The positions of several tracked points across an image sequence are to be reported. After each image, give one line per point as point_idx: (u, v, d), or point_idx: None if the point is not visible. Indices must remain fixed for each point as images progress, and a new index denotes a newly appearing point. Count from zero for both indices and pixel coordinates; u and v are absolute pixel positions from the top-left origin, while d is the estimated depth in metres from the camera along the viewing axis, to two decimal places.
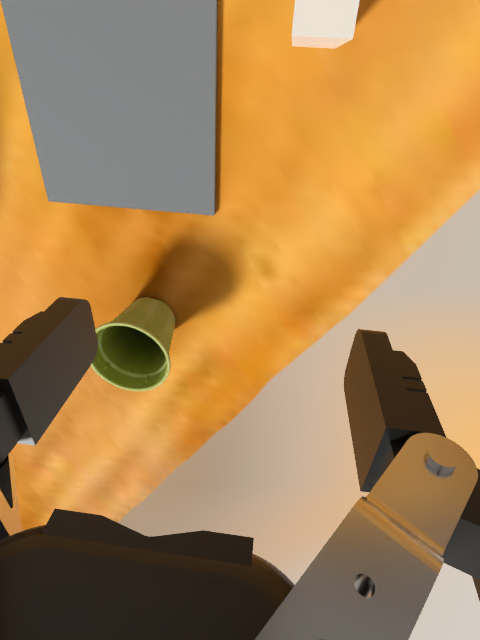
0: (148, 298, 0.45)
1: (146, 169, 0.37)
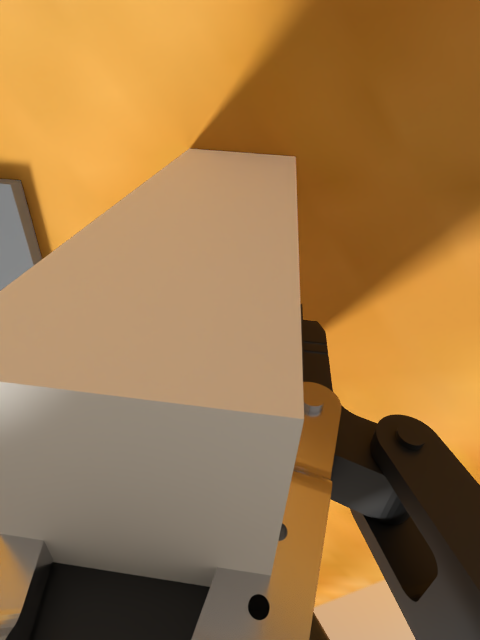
0: None
1: None
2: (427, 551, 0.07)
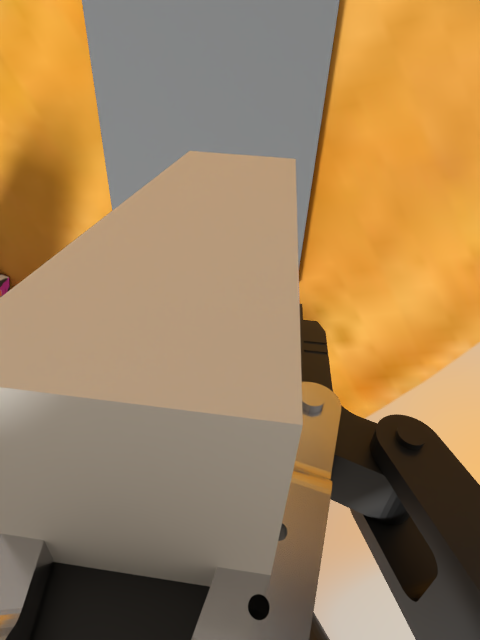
0: None
1: None
2: (427, 551, 0.07)
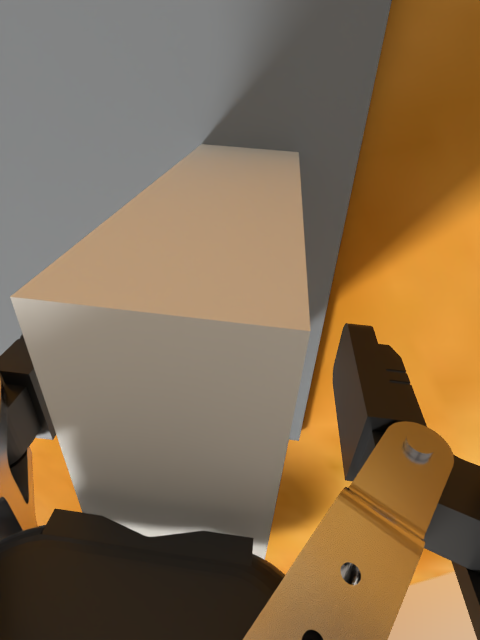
0: None
1: None
2: None
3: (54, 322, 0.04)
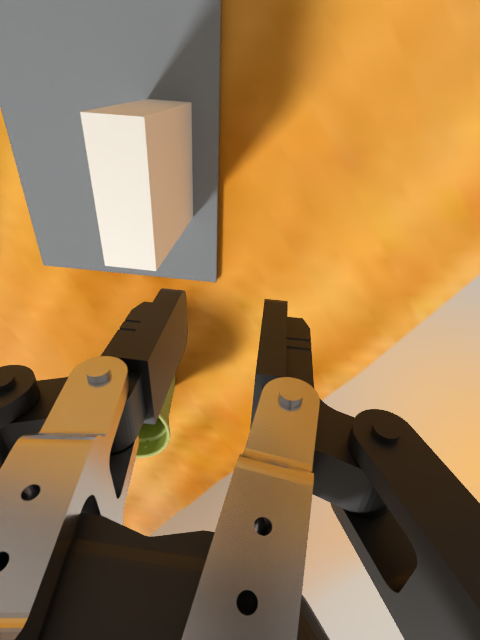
0: None
1: None
2: (406, 541, 0.07)
3: (89, 119, 0.20)
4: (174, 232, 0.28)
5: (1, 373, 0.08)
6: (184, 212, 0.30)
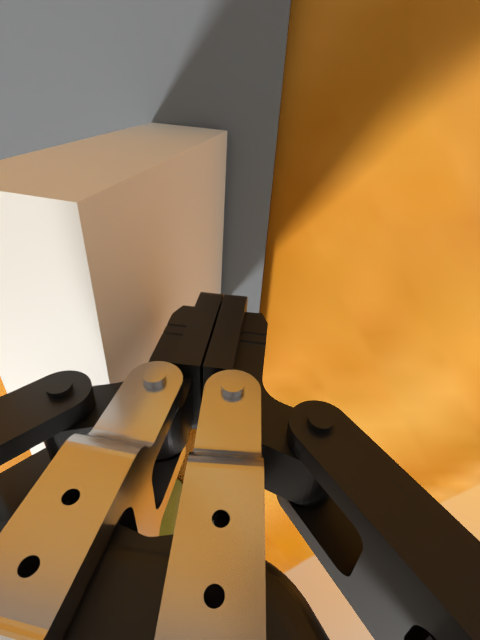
0: None
1: None
2: (352, 522, 0.08)
3: None
4: None
5: (61, 379, 0.08)
6: None
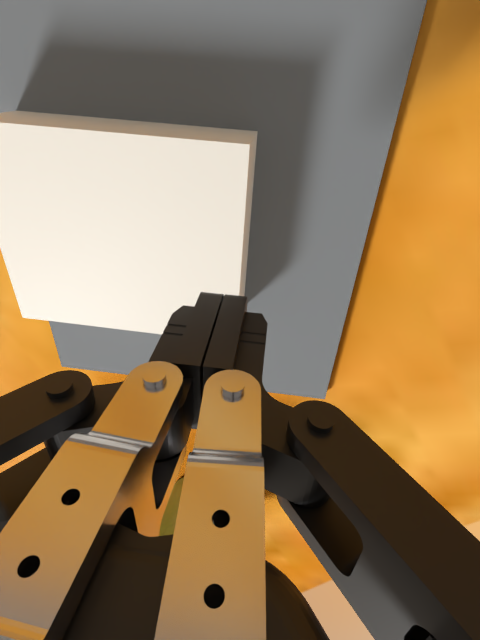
0: None
1: None
2: (352, 523, 0.08)
3: None
4: (110, 313, 0.18)
5: (61, 378, 0.08)
6: (172, 312, 0.18)
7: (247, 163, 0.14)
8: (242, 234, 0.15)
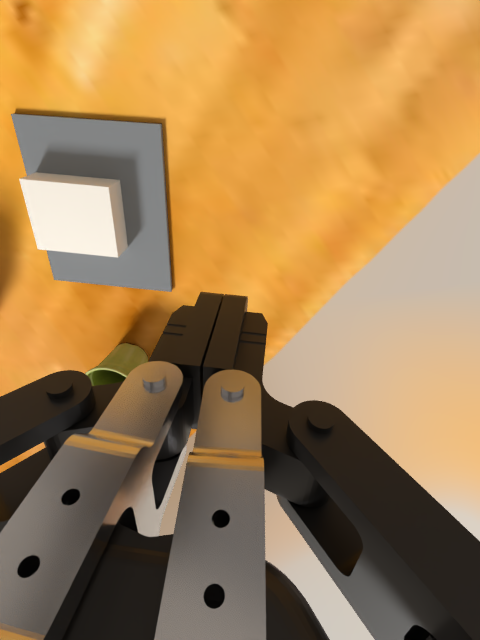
0: (127, 344, 0.62)
1: (122, 262, 0.53)
2: (352, 522, 0.08)
3: None
4: (70, 246, 0.49)
5: (61, 378, 0.08)
6: (93, 245, 0.48)
7: (108, 192, 0.44)
8: (112, 215, 0.46)
